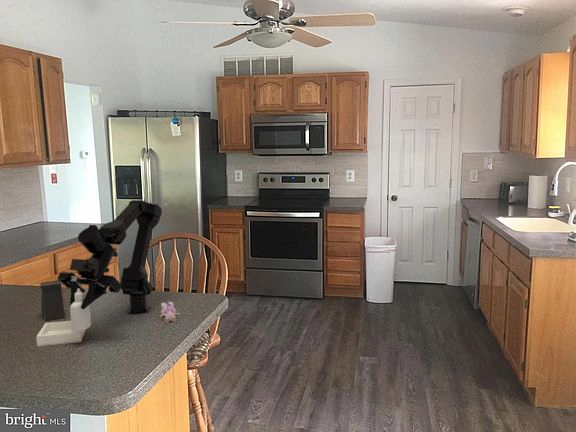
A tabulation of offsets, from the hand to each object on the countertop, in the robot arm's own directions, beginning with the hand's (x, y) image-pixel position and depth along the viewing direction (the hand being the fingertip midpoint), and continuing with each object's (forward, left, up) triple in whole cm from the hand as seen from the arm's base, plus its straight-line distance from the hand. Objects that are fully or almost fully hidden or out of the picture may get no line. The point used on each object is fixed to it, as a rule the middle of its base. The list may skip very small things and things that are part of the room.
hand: (76, 308), depth 138 cm
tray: (-8, -6, -11) cm, 15 cm away
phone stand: (-30, -13, -11) cm, 34 cm away
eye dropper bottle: (-1, +1, -7) cm, 7 cm away
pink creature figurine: (-18, +26, -11) cm, 33 cm away
